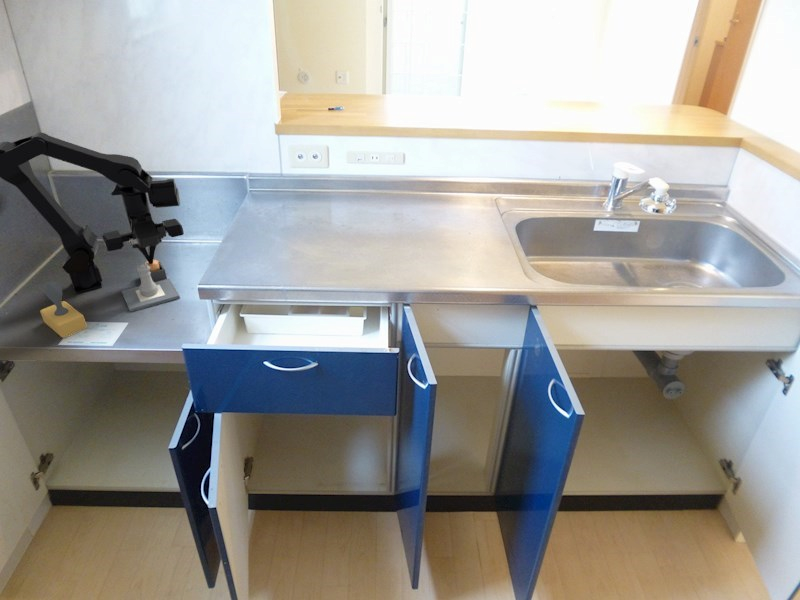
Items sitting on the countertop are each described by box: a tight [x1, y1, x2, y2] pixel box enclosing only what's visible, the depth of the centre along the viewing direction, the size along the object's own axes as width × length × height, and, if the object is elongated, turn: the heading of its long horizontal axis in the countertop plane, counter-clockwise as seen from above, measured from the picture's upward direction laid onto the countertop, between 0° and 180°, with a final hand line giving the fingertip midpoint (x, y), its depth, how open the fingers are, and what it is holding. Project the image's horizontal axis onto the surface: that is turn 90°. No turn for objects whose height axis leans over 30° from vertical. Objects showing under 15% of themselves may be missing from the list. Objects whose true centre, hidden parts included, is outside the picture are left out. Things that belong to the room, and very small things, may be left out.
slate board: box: [121, 278, 181, 313], centre depth 145 cm, size 12×10×1 cm
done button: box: [144, 259, 160, 272], centre depth 151 cm, size 4×4×2 cm
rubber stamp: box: [39, 280, 88, 339], centre depth 130 cm, size 10×6×12 cm, turn 50°
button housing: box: [150, 261, 168, 282], centre depth 152 cm, size 5×5×3 cm
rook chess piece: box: [136, 262, 158, 297], centre depth 142 cm, size 4×4×8 cm
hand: (150, 263), depth 150 cm, fingers closed, pressing on done button
